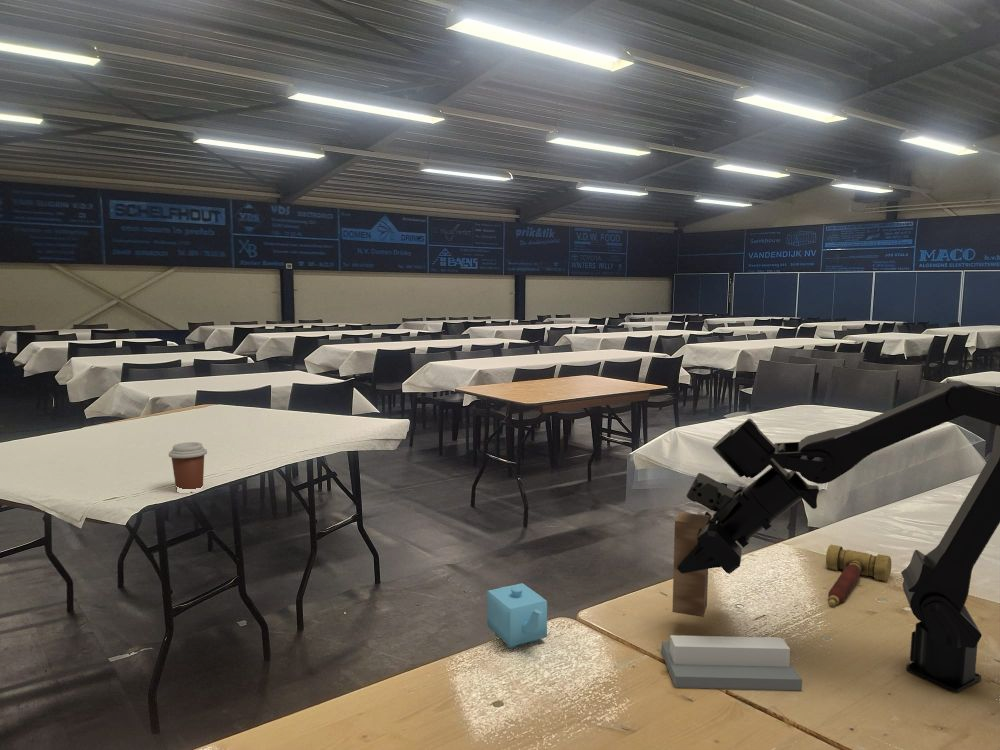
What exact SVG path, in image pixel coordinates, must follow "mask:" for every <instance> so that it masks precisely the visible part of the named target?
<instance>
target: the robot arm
mask: <svg viewBox="0 0 1000 750" xmlns="http://www.w3.org/2000/svg"><path fill="white" fill-rule="evenodd" d="M963 416H966V417H970V418H972V419H973V418H974V419H975V420H980V421H983V422H986V423H989V424H992V425H995V426H996V427H995V430H994V436H993V443H992V450H991V453H990V455H989V458H988V459H987V461H986V463H985V464H984V466H983V468H982V470H981V471H980V473H979V475H978V477H977V478H976V479H975V481H974V483H973V485H972V486H971V489H970V490H969V491H968V494H967V496H966V497H965V499H964V500H963V502H962V504H961V506H960V507H959V509H958V511H957V512H956V514H955V516H954V518H953V519H952V521H951V522H950V525H949V527H948V528H947V530H946V531H945V533H944V534H943V536H942V538H941V540H940V541H939V543H938V545H937V546H936V547H934V548H933V549H932V550H931V551H929V552H928V553H926V554H925V553H923V552H921V551H920V550H918V549H915V550H914V552H913V553H912V556H911V559H910V562H909V564H908V565H907V567H905V568H904V569H903V570H902V571H901V572H900V574H901V576H902V579H903V582H902V588H903V592H904V594H905V597H906V600H907V602H908V605H909V607H910V610H911V612H912V614H913V616H915V618H916V619H917V620H918V622H916V623H915V629H914V631H913V632H911V637H910V639H911V640H910V651H909V652H910V653H909V660H910V662H911V663H908V664H906V665H905V669H906V670H907V671H908V672H911V673H913V674H915V675H917V676H919V677H921V678H924V679H926V680H927V681H929V682H932V683H934V684H936V685H939V686H940V687H943V688H945V689H947V690H949V691H951V692H955V693H958V692H960V691H962V690H964V689H965V688H968V687H970V686H972V685H973V684H975V683H977V682H979V681H982V675H981V674H979V673H977V672H976V668H977V657H978V656H977V654H978V644H979V642H980V640H981V638H982V633H981V631H980V629H979V628H978V626H977V624H976V623H975V621H974V619H973V617H972V615H971V613H970V612H969V610H968V607H966V603H967V602H966V601H967V599H968V597H969V592H970V586H971V580H972V579H971V578H972V573H973V569H974V567H975V565H976V563H977V562H978V560H979V559H980V557H981V555H982V553H983V552H984V550H985V548H986V546H987V545H988V543H989V542H990V540H991V538H992V537H993V535H994V533H995V532H996V530H997V528H998V527H999V525H1000V392H999V391H994V390H991V389H987V388H981V387H978V386H974V385H972V384H969V383H968V382H964V381H961V380H953V381H948V382H946V383H945V384H943V385H942V386H941V387H940V388H937V389H935V390H933V391H931V392H929V393H926V394H924V395H921V396H920V397H917V398H914V399H911V400H910V401H908V402H906V403H903V404H901V405H899V406H897V407H894V408H892V409H890V410H887V411H885V412H883V413H880V414H878V415H876V416H874V417H871V418H869V419H867V420H864V421H863V422H860V423H857V424H855V425H851V426H844V427H838V428H834V429H828V430H825V431H820V432H817V433H814V434H809V435H806V436H805V437H803V438H802V439H801V440H800V441H791V442H790V441H789V442H775V443H773V442H772V441H771V440H770V438H768V436H766V434H764V433H763V431H761V429H760V428H759V427H758V425H757V424H756V422H755V421H753V419H752V418H747V419H746V420H745V421H743V422H742V423H741V424H738V426H736V427H735V428H734V429H733V428H732V429H730V430H729V431H728V432H727V433H725V434H724V435H723V436H722V437H721V438H720V439H719V440H718V441H717V442H716V443H715V444H714V445H713V446H712V449H713V451H714V452H715V453H716V454H717V455H718V456H719V457H720V458H721V460H723V461H724V462H725V463H726V464H727V466H729V468H730V469H731V470H732V471H733V472H735V474H736V475H737V476H738V477H739V478H742V477H745V478H746V479H748V478H749V479H753V478H755V477H757V476H758V475H760V474H761V473H762V472H763V471H764V470H765V469H766V468H768V467H769V466H771V467H770V468H769V469H767V470H766V471H765V472H764V473H763V474H761V475H760V476H759V477H758V478H757V479H755V480H753V482H751V483H750V484H749V485H748V486H746V487H745V486H739V487H738V488H737V489H735V490H733V489H731V488H729V487H727V486H726V485H724V484H722V483H720V482H719V481H717V480H715V479H714V478H711V477H709V476H708V475H706V474H704V473H701V472H698V473H697V475H696V476H695V479H694V480H693V482H692V484H691V486H690V488H689V489H688V491H687V494H686V498H687V499H689V500H690V501H691V502H693V503H698V504H700V505H701V506H703V507H705V508H707V509H709V510H710V511H713V513H711V514H710V512H708V511H705V513H704V515H708V516H710V523H709V524H708V525H707V526H705V527H704V528H703V529H701V528H700V529H699V531H698V534H697V540H698V544H697V545H696V546H695V547H694V548H693V549H692V551H691V552H690V553H689V554H688V555H687V556H686V557H685V559H684V560H683V561H682V562H681V563H680V564H679V566H678V567H677V569H678V570H679V571H680V572H681V573H688V572H693V571H699V570H704V569H708V570H711V569H717V568H721V569H722V570H723V571H724V572H725V573H727V574H729V575H731V574H732V573H733V572H734V571H736V570H737V569H738V568H740V567H741V562H742V552H743V551H742V550H743V549H742V548H745V547H746V546H748V545H749V543H750V539H751V538H752V537H754V536H756V534H758V533H759V532H760V531H762V530H763V529H764V530H765V531H767V530H769V529H770V528H772V525H773V522H774V521H775V520H776V519H777V518H779V517H780V516H781V515H783V514H784V513H785V512H787V511H788V510H789V509H791V508H792V507H793V506H794V505H796V504H797V503H798V502H800V501H801V500H802V499H803V501H804V502H806V504H807V505H808V506H809V508H811V509H812V510H815V509H817V508H818V503H817V500H818V495H819V492H820V489H819V488H820V487H819V485H822V484H823V485H824V484H828V483H831V482H833V481H834V480H836V479H838V478H839V477H840V476H842V475H843V474H845V473H848V472H849V471H850V470H852V469H853V468H854V467H856V466H857V465H858V464H859V463H861V462H862V461H863V460H864V459H865V458H868V456H871V455H872V454H873V453H876V452H879V451H880V450H882V449H885V448H887V447H890V446H893V445H895V444H896V443H900V442H902V441H904V440H906V439H909V438H911V437H914V436H916V435H919V434H921V433H923V432H926V431H928V430H931V429H933V428H935V427H938V426H940V425H943V424H946V423H947V422H949V421H953V420H955V419H957V418H960V417H963ZM787 470H788V471H787ZM800 475H801V476H800ZM804 479H806V480H807V481H808V482H811V483H814V484H815V485H812V484H808V483H807V482H806V481H805V480H804ZM816 484H817V485H816ZM737 542H738V543H737Z"/></svg>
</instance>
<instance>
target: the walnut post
mask: <svg viewBox="0 0 1000 750" xmlns="http://www.w3.org/2000/svg"><path fill="white" fill-rule="evenodd" d="M709 523H710V516H708V515H705V514H697V513H689V512H683V511H682V512H679V511H678V513H677V516H676V518H675V519H674V539H673V543H674V545H673V577H672V578H673V580H672V613H675V614H682V615H687V616H695V617H699V618H704V617H705V615H706V610H707V605H708V589H709V588H708V584H709V581H708V579H709V569H704V570H699V571H693V572H688V573H681V572H680V571H679V570H678V569H677V567H678V566H679V564H680V563H681V562H682V561H683V560H684V559H685V557H686V556H687V555H688V554H689V553H690V552H691V551H692V549H693V548H694V547H695V546H696V545H697V544H698V540H697V534H698V531H699V529H700V528H701V529H703V528H704V527H705V526H707V525H708V524H709Z"/></svg>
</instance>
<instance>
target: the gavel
mask: <svg viewBox="0 0 1000 750" xmlns="http://www.w3.org/2000/svg"><path fill="white" fill-rule="evenodd" d="M825 566H826V568H827V569H828V568H829V569H828V570H833V571H836V570H837V571H836V572H839V570H842V572H841V574H839V577H837V579H836V581H835V582H834V584H833V585H832V587H831V588H830V590H829V591H828V594H827V595H828V604H829V605H830V607H835V606H837V605H840V604H843V603H844V602H845V600H846V599H847V597H848V595H849V594H850V593H851V590H852V589H853V587H854V586H855V584H856V582H857V581H858V579H859V578H860V574H861V576H865V577H870V576H871V577H873V578H874V580H876V579H878V580H877V581H881V580H882V581H881V582H885V581H887V582H888V581H889V580H890V579H891V578H890V577H891V572H892V558H891V556H889V555H885V554H880V553H877V555H873V554H871V553H866V552H862V551H856V550H852V549H843V546H840V545H836V544H829V546H828V548H827V550H826V556H825ZM888 579H889V580H888Z"/></svg>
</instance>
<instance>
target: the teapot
mask: <svg viewBox="0 0 1000 750" xmlns="http://www.w3.org/2000/svg"><path fill="white" fill-rule="evenodd" d="M486 593H487V594H486V595H487V596H486V598H487V600H486V601H487V604H486V609H487V611H486V614H487V615H486V618H487V619H486V624H487V625H486V626H487V628H489V629H490V630H491V631H492V632H493V633H495V634H494V636H495V637H498V638H500V639H501V640H502V641H503V642H504V643H505V644H506V647H507V648H509V649H515V648H517V646H519V645H523V644H526V643H530V642H531V643H536V642H539V640H541V639H544V638H547V636H548V601H547V600H546V599H545V598H544V597H542V596H541V595H540V594H539V593H537V592H536V591H534V590H533V589H532V588H531V587H529V586H527V585H526V584H524V583H522V582H521V583H517V584H512V585H508V586H501V587H499V588H495V589H490V590H487V591H486Z"/></svg>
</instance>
